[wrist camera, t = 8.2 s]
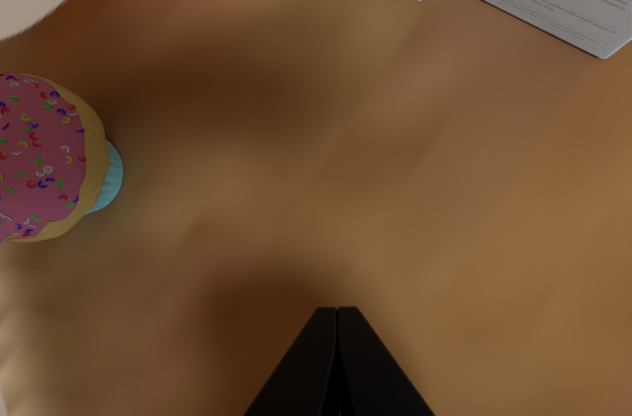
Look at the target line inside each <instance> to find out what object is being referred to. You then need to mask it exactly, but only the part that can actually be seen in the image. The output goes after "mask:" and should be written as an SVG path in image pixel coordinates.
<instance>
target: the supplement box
mask: <svg viewBox="0 0 632 416" xmlns="http://www.w3.org/2000/svg"><path fill="white" fill-rule="evenodd" d="M484 1H486V2H488V3H490V4H492V5H494V6H496V7H498V8H500V9H502V10H504V11H506V12H508V13H510V14H512V15H514V16H516V17H518V18H520V19H522V20H524V21H526V22H528V23H530V24H532V25H534V26H536V27H538V28H540V29H542V30H544V31H546V32H548V33H550V34H552V35H554V36H556V37H558V38H560V39H562V40H564V41H566V42H568V43H570V44H572V45H574V46H576V47H578V48H580V49H582V50H584V51H587V52H589V53H591V54H593V55H595V56H597V57H599V58H602V59H606V58H608V57H609V56H611V55H612V54H613V53H615V52H616V51H617V50H619V49H620V48H621V47H622V46H624V45H625V44H626V43H628V42H629V41H630V40H632V0H484Z"/></svg>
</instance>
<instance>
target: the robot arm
mask: <svg viewBox="0 0 632 416" xmlns="http://www.w3.org/2000/svg"><path fill="white" fill-rule="evenodd" d="M339 396H340V402H339ZM243 416H435V414H434V413H433V412H432V410H431V409H430V408H429V406H428V405H427V403H426V402H425V401H424V399H423V398H422V396H421V395H420V394H419V392H418V391H417V389H416V388H415V387H414V385H413V384H412V382H411V381H410V380H409V378H408V377H407V375H406V374H405V373H404V371H403V370H402V368H401V367H400V366H399V364H398V363H397V362H396V360H395V359H394V357H393V356H392V355H391V353H390V352H389V350H388V349H387V348H386V346H385V345H384V343H383V342H382V341H381V339H380V338H379V336H378V335H377V334H376V332H375V331H374V329H373V328H372V327H371V325H370V324H369V323H368V321H367V320H366V318H365V317H364V316H363V314H362V313H361V311H360V310H359V309H358V308H357V307H355V306H341V307H339V308H338V310H337V308H336V307H318V308H317V309H316V310H315V311H314V313H313V314H312V316H311V317H310V319H309V320H308V321H307V323H306V324H305V326H304V327H303V329H302V330H301V332H300V333H299V335H298V336H297V338H296V339H295V340H294V342H293V343H292V345H291V346H290V348H289V349H288V351H287V352H286V354H285V355H284V356H283V358H282V359H281V361H280V362H279V364H278V365H277V367H276V368H275V370H274V371H273V373H272V374H271V375H270V377H269V378H268V380H267V381H266V383H265V384H264V386H263V387H262V389H261V390H260V391H259V393H258V394H257V396H256V397H255V399H254V400H253V402H252V403H251V405H250V406H249V407H248V409H247V410H246V412H245V413H244V415H243Z"/></svg>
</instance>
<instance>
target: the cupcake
mask: <svg viewBox="0 0 632 416" xmlns="http://www.w3.org/2000/svg"><path fill="white" fill-rule="evenodd" d="M122 180H123V164H122V160H121V157H120V155H119V153H118V151H117V150H116V148H115V147H114V146H113V145H112V144H111V143H110V142H109V141H108V140H106V138H105V131H104V126H103V124H102V122H101V120H100V118H99V117H98V115H97V114H96V112H95V111H94V110H93V109H92V108H91V107H90V106H89V105H88V104H87V103H86V102H84V101H83V100H82V99H81V98H80V97H78V96H77V95H76V94H74V93H72V92H71V91H69V90H67V89H65V88H63V87H62V86H60V85H58V84H56V83H55V82H53V81H51V80H49V79H46V78H42V77H39V76H35V75H30V74H25V73H6V74H0V242H1V241H4V240H7V241H14V242H37V241H42V240H47V239H52V238H56V237H59V236H61V235H63V234H64V233H66V232H67V231H68V230H70V229H71V228H72V227H73V226H74V225H75V224H76V223H77V222H78V221H79V220H80V219H81V218H82V217H83V216H84V215H85V214H88V213H91V212H94V211H97V210H100V209H102V208H104V207H105V206H107V205H108V204H109V203H110V202H111V201H112V200H113V199H114V198H115V196H116V195H117V193H118V191H119V189H120V187H121V184H122Z"/></svg>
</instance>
